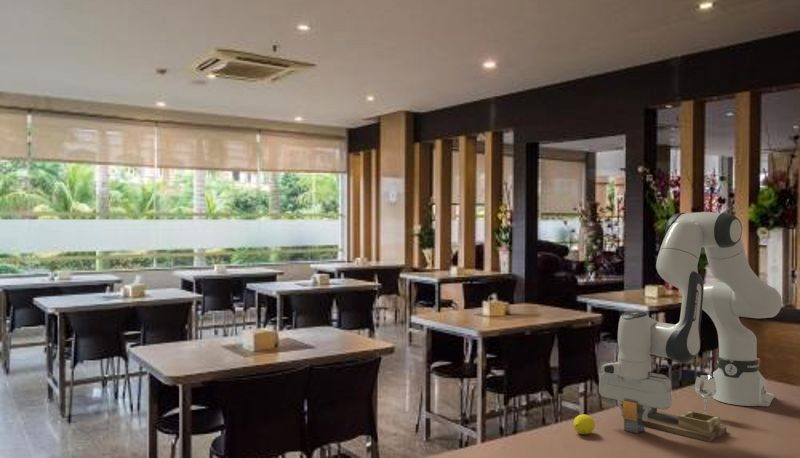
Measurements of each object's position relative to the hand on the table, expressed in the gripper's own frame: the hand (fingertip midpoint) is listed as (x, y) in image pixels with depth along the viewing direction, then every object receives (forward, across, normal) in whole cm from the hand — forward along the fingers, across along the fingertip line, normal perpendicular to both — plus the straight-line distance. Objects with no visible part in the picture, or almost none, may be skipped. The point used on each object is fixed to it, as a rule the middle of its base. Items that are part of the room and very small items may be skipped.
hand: (634, 418), depth 175 cm
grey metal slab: (+3, 0, 0) cm, 3 cm away
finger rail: (+3, -6, -12) cm, 14 cm away
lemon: (+4, +8, +13) cm, 16 cm away
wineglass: (+4, -8, -29) cm, 30 cm away
